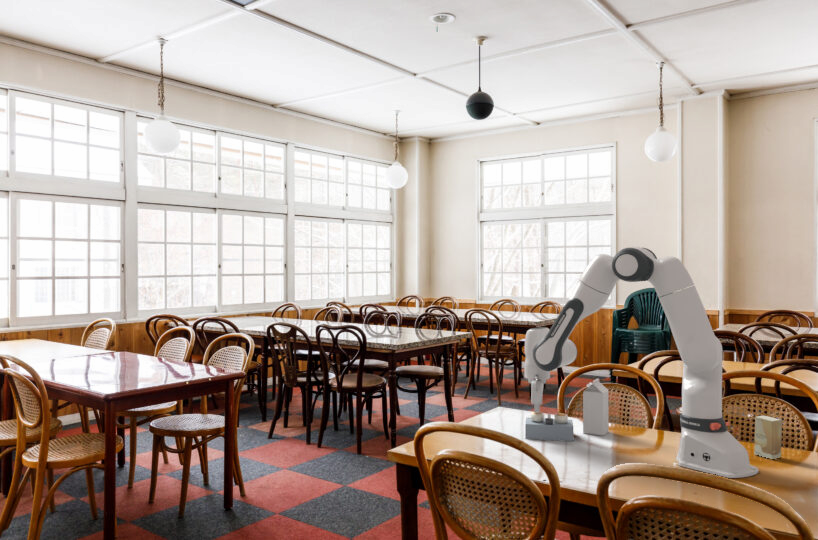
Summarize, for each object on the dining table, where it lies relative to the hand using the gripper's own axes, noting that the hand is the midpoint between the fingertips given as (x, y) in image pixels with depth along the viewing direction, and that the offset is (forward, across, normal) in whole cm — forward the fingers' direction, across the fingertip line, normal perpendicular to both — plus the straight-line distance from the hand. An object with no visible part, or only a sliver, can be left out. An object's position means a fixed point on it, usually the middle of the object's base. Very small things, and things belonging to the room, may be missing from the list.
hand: (536, 412), depth 222 cm
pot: (+3, -3, -4) cm, 6 cm away
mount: (+8, 0, -4) cm, 9 cm away
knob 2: (+8, 0, -8) cm, 12 cm away
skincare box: (+8, -11, -71) cm, 72 cm away
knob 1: (+8, 0, 0) cm, 8 cm away
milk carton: (+8, +8, -21) cm, 24 cm away
